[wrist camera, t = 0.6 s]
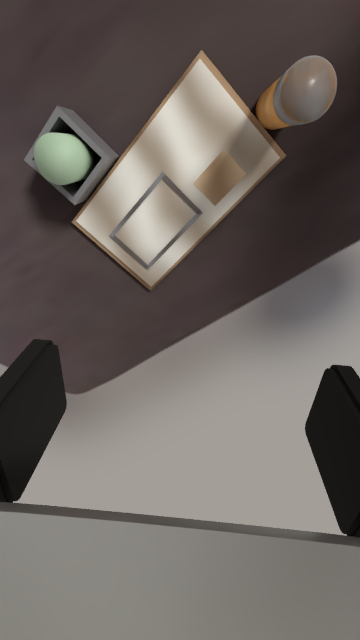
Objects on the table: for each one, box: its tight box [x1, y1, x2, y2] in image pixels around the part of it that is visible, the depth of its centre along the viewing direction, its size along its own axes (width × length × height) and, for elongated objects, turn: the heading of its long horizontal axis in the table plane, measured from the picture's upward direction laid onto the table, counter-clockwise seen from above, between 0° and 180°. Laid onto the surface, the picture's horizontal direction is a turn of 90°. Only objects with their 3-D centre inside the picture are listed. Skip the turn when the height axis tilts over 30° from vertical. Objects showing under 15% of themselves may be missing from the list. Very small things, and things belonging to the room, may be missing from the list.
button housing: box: [24, 106, 119, 205], centre depth 29 cm, size 5×5×4 cm
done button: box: [34, 133, 95, 185], centre depth 27 cm, size 4×4×4 cm
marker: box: [256, 56, 337, 130], centre depth 23 cm, size 3×3×10 cm
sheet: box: [72, 50, 286, 291], centre depth 31 cm, size 19×11×1 cm, turn 136°
